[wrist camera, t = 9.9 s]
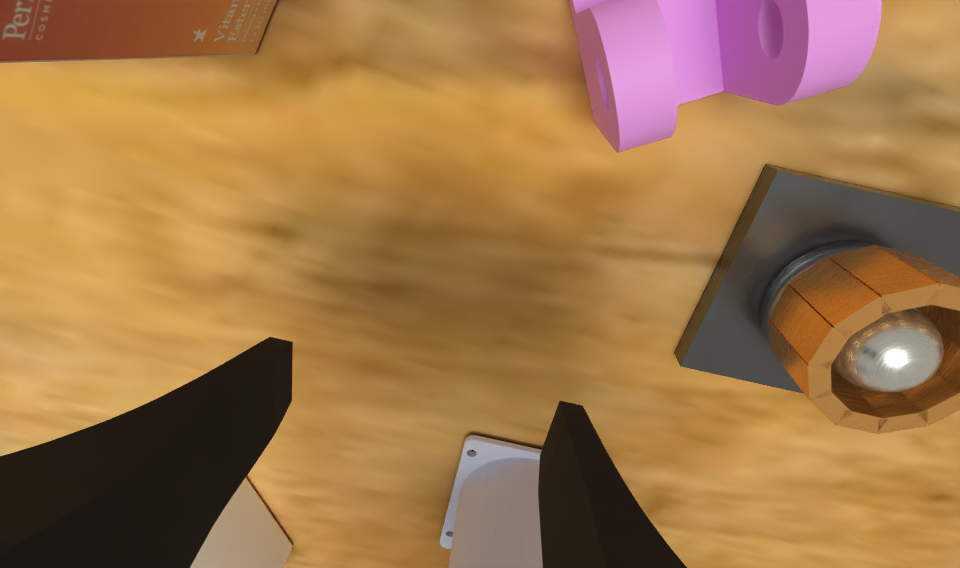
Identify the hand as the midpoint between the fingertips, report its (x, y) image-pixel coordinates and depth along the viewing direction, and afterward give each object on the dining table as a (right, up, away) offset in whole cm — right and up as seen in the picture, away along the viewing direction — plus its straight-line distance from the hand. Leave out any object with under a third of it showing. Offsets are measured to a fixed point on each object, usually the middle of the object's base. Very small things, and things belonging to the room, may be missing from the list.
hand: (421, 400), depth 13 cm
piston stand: (+16, +3, +7) cm, 18 cm away
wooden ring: (+16, +2, +6) cm, 17 cm away
